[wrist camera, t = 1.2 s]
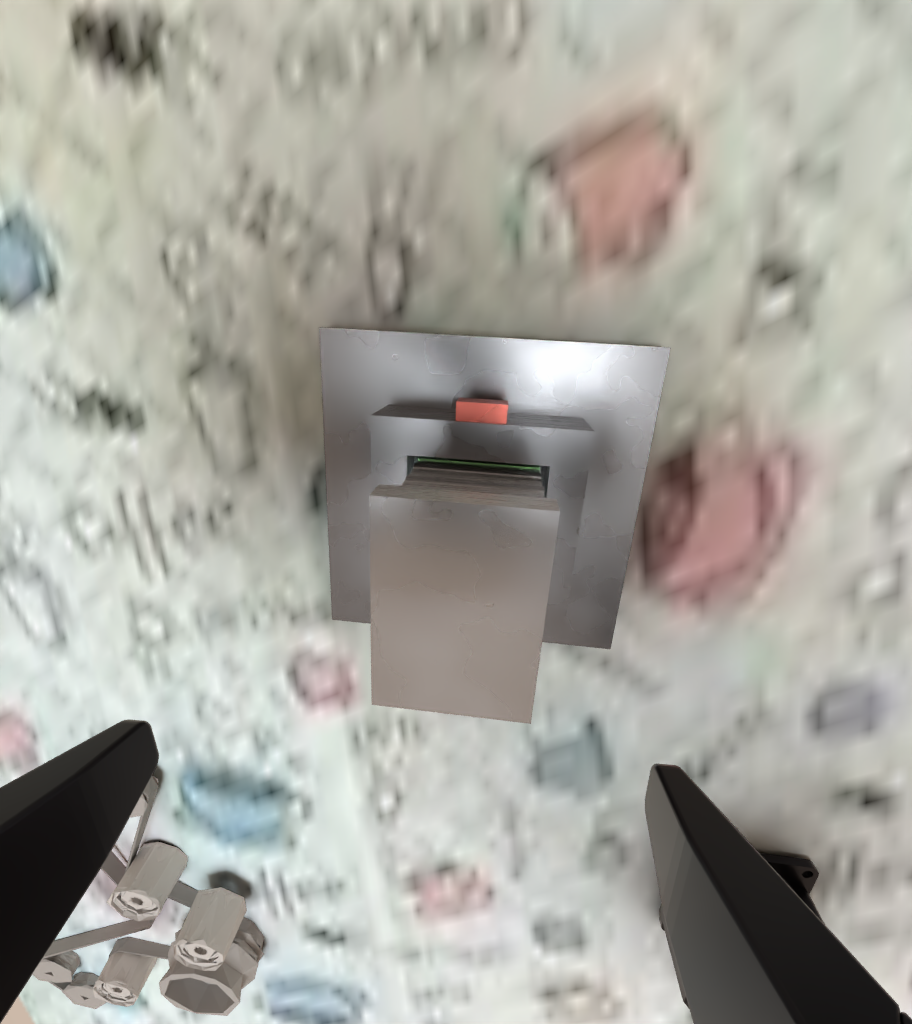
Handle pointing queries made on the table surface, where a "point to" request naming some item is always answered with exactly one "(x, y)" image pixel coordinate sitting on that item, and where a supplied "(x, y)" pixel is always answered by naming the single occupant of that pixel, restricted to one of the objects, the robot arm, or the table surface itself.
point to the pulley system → (192, 957)
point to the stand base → (494, 447)
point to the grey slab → (460, 587)
